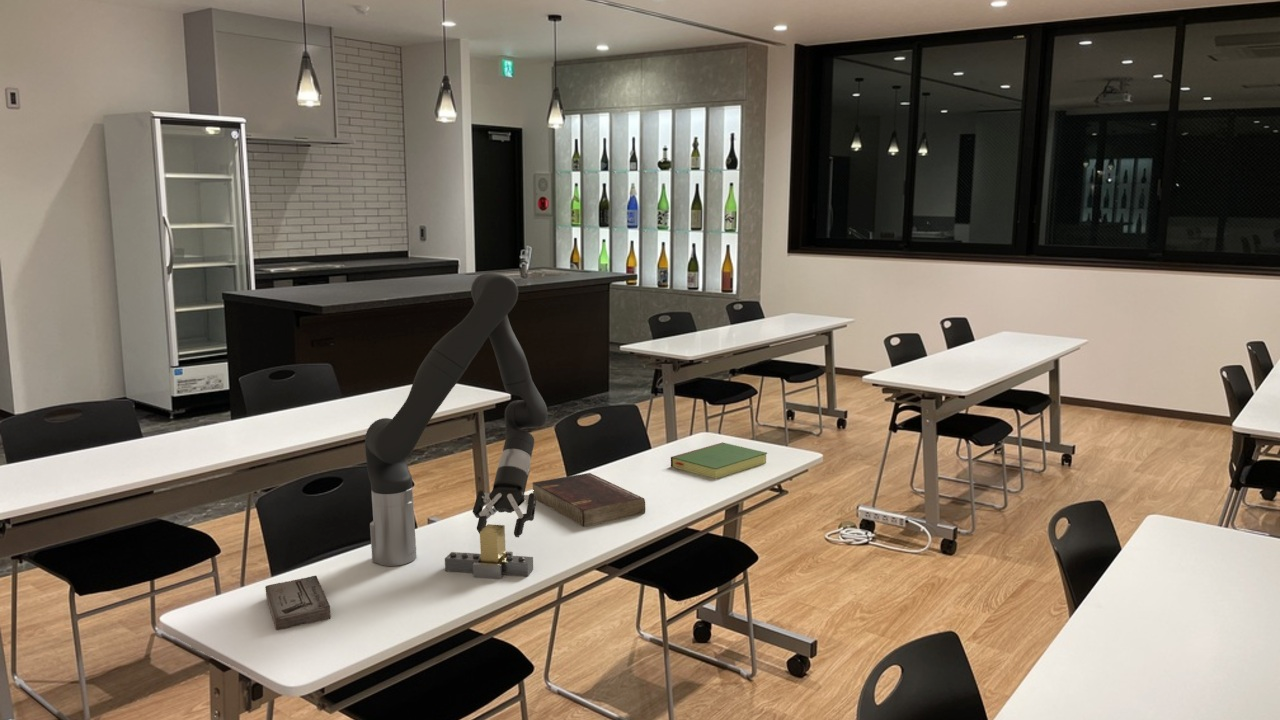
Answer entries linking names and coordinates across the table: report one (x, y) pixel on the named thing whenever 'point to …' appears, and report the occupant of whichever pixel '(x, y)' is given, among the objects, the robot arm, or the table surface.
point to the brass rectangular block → (492, 544)
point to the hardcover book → (718, 460)
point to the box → (297, 602)
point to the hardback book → (588, 499)
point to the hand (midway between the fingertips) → (498, 534)
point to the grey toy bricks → (489, 565)
